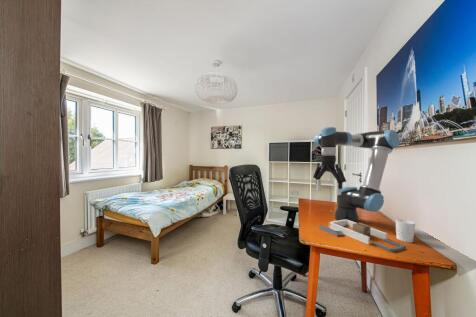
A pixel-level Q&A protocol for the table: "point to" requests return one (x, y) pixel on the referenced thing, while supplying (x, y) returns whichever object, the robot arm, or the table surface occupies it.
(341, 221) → the cubby
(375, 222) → the table surface
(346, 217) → the robot arm
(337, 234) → the crook tool
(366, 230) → the walnut cube
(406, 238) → the white cup
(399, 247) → the grey bracket
